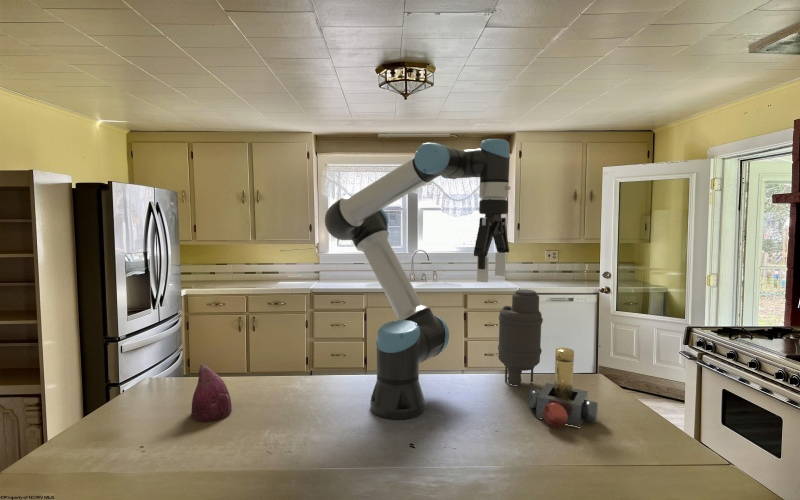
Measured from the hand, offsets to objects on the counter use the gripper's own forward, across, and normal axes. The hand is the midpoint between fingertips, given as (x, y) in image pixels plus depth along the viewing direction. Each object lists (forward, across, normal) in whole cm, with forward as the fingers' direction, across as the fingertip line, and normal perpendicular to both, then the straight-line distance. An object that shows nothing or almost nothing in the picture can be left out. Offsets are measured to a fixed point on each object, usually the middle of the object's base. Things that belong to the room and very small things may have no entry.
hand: (491, 278), depth 119 cm
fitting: (+34, +8, -18) cm, 39 cm away
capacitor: (+37, +25, -1) cm, 45 cm away
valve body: (+37, +6, -18) cm, 41 cm away
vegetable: (+37, -42, +62) cm, 84 cm away
